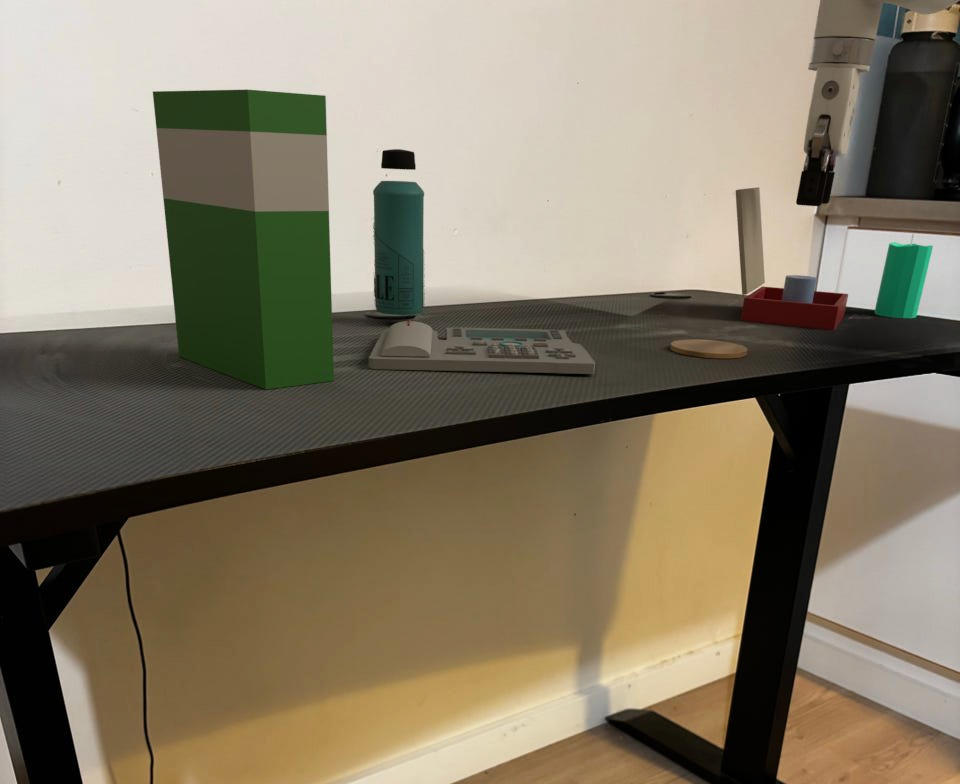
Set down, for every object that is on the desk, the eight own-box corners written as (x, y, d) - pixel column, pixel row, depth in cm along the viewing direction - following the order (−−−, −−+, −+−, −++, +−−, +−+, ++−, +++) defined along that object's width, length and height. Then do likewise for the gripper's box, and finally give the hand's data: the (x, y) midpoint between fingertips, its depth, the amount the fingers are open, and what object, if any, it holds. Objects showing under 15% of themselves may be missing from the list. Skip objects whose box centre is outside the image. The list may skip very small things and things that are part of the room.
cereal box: (179, 356, 100) (152, 91, 89) (243, 349, 104) (225, 96, 94) (265, 389, 88) (247, 89, 78) (333, 380, 93) (325, 95, 82)
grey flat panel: (759, 187, 139) (754, 188, 139) (740, 189, 126) (735, 190, 127) (764, 283, 144) (760, 283, 144) (747, 294, 131) (742, 295, 132)
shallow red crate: (843, 320, 142) (848, 293, 140) (832, 335, 129) (838, 306, 127) (757, 312, 146) (762, 286, 144) (739, 325, 133) (744, 297, 132)
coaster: (752, 349, 117) (753, 344, 117) (739, 361, 110) (740, 356, 109) (679, 341, 120) (680, 336, 120) (662, 353, 113) (662, 347, 112)
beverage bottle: (432, 321, 126) (434, 150, 117) (412, 329, 120) (413, 150, 111) (386, 317, 128) (385, 148, 119) (364, 324, 122) (362, 147, 113)
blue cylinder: (810, 317, 138) (818, 276, 136) (807, 321, 135) (815, 279, 132) (781, 314, 140) (788, 274, 137) (776, 318, 136) (783, 277, 134)
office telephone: (367, 344, 97) (380, 313, 115) (368, 371, 98) (380, 336, 116) (597, 350, 98) (574, 318, 116) (594, 376, 99) (572, 340, 117)
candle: (921, 323, 142) (942, 235, 136) (881, 321, 142) (900, 233, 136) (906, 317, 147) (926, 232, 142) (867, 315, 147) (885, 230, 142)
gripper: (866, 51, 114) (835, 208, 122) (875, 63, 128) (846, 204, 136) (802, 50, 117) (775, 204, 125) (817, 62, 131) (792, 200, 139)
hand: (812, 204), depth 131 cm, fingers open, 9 cm apart
